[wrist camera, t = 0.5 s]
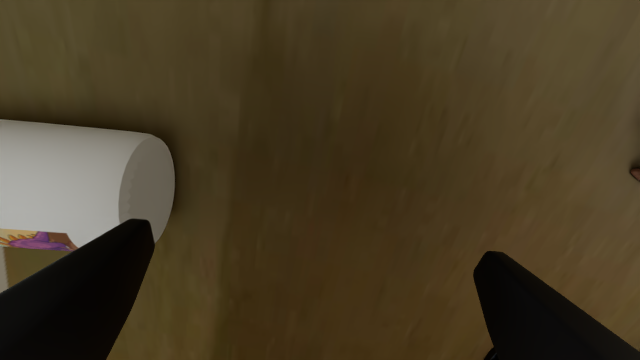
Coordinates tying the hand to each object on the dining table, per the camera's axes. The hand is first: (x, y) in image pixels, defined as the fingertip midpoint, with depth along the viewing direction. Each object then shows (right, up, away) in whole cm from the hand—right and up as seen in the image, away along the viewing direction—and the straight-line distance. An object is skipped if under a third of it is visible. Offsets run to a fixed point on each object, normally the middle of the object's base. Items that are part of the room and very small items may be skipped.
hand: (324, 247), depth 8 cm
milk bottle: (-11, +1, +11) cm, 16 cm away
